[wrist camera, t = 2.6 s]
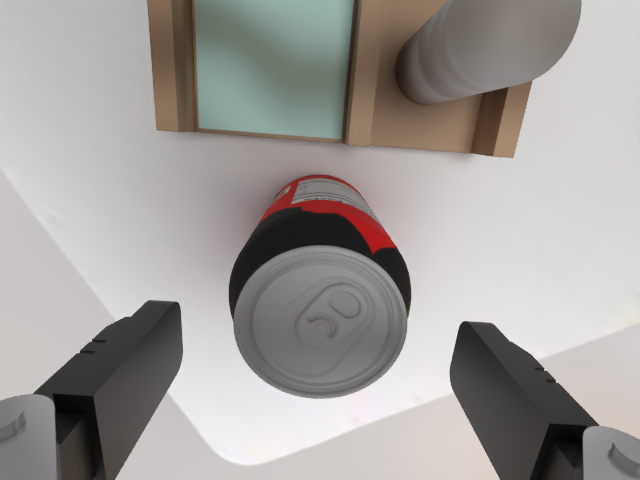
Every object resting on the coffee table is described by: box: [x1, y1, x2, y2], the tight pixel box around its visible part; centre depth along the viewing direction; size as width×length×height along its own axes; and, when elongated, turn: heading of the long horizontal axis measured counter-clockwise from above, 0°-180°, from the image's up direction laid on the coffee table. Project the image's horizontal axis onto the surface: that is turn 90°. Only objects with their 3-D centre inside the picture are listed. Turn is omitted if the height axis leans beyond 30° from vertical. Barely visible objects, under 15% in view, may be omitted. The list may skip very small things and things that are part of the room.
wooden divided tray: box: [147, 0, 581, 158], centre depth 14 cm, size 8×17×10 cm, turn 86°
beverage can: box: [229, 175, 411, 399], centre depth 16 cm, size 6×6×12 cm
